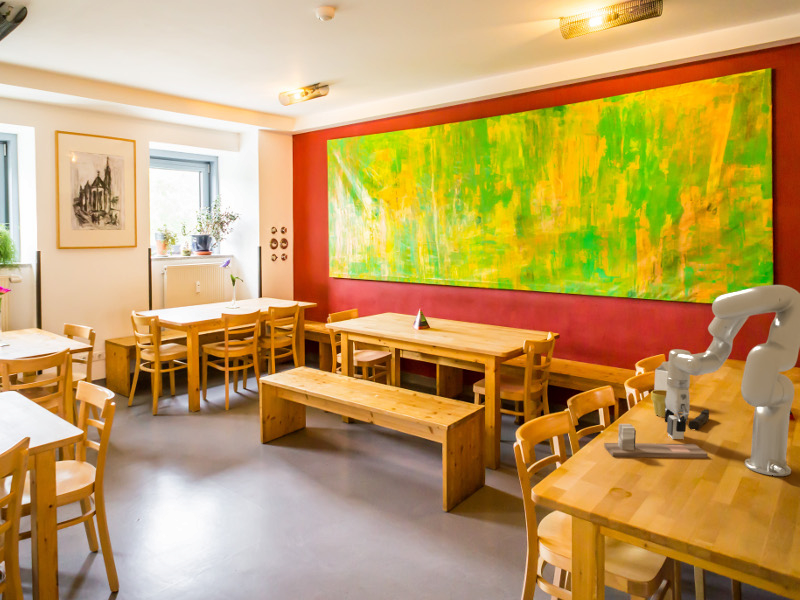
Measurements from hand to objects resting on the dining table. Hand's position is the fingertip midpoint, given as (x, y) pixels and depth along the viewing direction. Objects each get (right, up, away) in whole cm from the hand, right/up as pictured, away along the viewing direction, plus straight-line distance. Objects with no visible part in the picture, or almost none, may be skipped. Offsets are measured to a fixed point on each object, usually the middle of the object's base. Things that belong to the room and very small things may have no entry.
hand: (674, 426), depth 211 cm
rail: (-14, -6, -14) cm, 21 cm away
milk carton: (+18, +1, +45) cm, 48 cm away
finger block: (0, -4, 0) cm, 4 cm away
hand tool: (+18, -3, +15) cm, 24 cm away
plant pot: (+8, -1, +27) cm, 28 cm away
